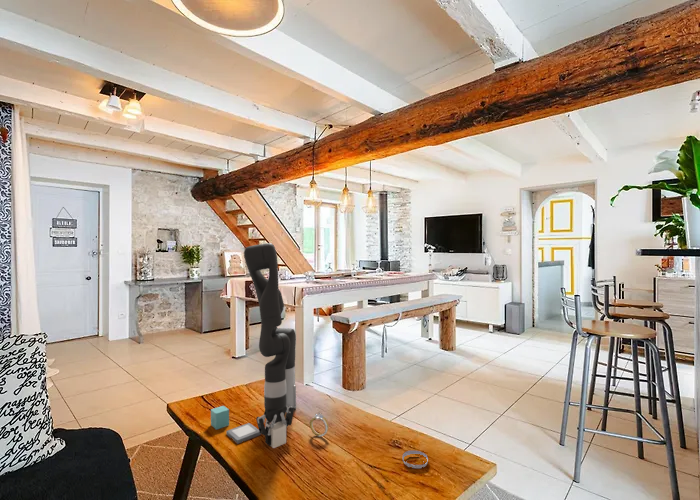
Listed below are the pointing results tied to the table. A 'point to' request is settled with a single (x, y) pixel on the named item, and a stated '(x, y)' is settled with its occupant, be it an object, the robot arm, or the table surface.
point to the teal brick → (219, 417)
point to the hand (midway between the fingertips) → (276, 441)
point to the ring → (320, 416)
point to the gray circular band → (414, 453)
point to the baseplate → (243, 433)
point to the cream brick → (278, 435)
